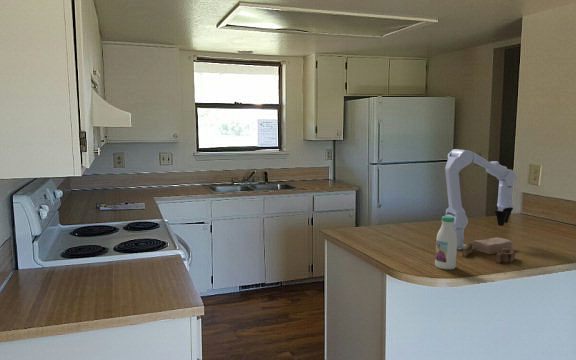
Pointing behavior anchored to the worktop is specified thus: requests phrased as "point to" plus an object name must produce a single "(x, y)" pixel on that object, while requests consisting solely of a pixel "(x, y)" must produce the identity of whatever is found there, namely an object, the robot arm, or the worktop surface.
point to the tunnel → (503, 256)
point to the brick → (491, 245)
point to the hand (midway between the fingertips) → (502, 224)
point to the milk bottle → (446, 244)
